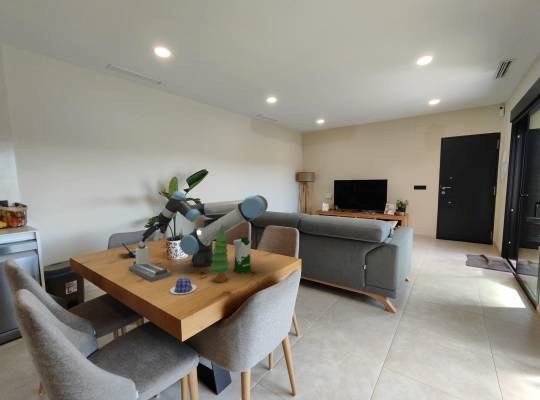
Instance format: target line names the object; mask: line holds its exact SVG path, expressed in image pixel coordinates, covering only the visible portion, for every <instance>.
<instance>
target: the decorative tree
mask: <svg viewBox="0 0 540 400" xmlns="http://www.w3.org/2000/svg"><path fill="white" fill-rule="evenodd" d="M227 239H228V238H227V236H226V233H224V229H223V224H222V226H221V228H220V231H219V234H218V236H217V238H215V240H216V241H215V242H214V248H213V253H214V255H213V257H212V260H213V262H212V265H211V266H210V268H211V272H212V273H213V274H217V275H216V278H215V282H216V283H217V282H218V283H224V282H225V281H226V280H227V277H226V275H225V274H226V273H228V272H229V270H230V268H229V265H230V262H229V260H228V248H227V246H228V242H227Z"/></svg>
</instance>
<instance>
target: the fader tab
mask: <svg viewBox="0 0 540 400" xmlns="http://www.w3.org/2000/svg"><path fill="white" fill-rule="evenodd" d="M135 251H136V258H135V261H136V264H137V265H141V266H146V265H147V263H148V262H150V261H149V257H150V255H149V247H148V246H146V244H145V245H144V246H143V247H141V246H140V245H139V244H138V248H135Z"/></svg>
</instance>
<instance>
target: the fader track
mask: <svg viewBox="0 0 540 400" xmlns="http://www.w3.org/2000/svg"><path fill="white" fill-rule="evenodd" d="M132 263H133V264H132V265H129V266H128V271H130V272H132V273H134V274H136V275H138V276H139V277H141V278H144V279H146V280H147V281H150V282H151V283H154V282H158V281H159V280H163V279H166V278H170V277H172V276H173V271H171V270H169V269H168V268H164V267H162V266H159V265H157V264H154V263H152V262H150V261H149V262H148V263H147V265H146V266H141V265H137V264H136V260H135V261H133V262H132Z"/></svg>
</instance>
